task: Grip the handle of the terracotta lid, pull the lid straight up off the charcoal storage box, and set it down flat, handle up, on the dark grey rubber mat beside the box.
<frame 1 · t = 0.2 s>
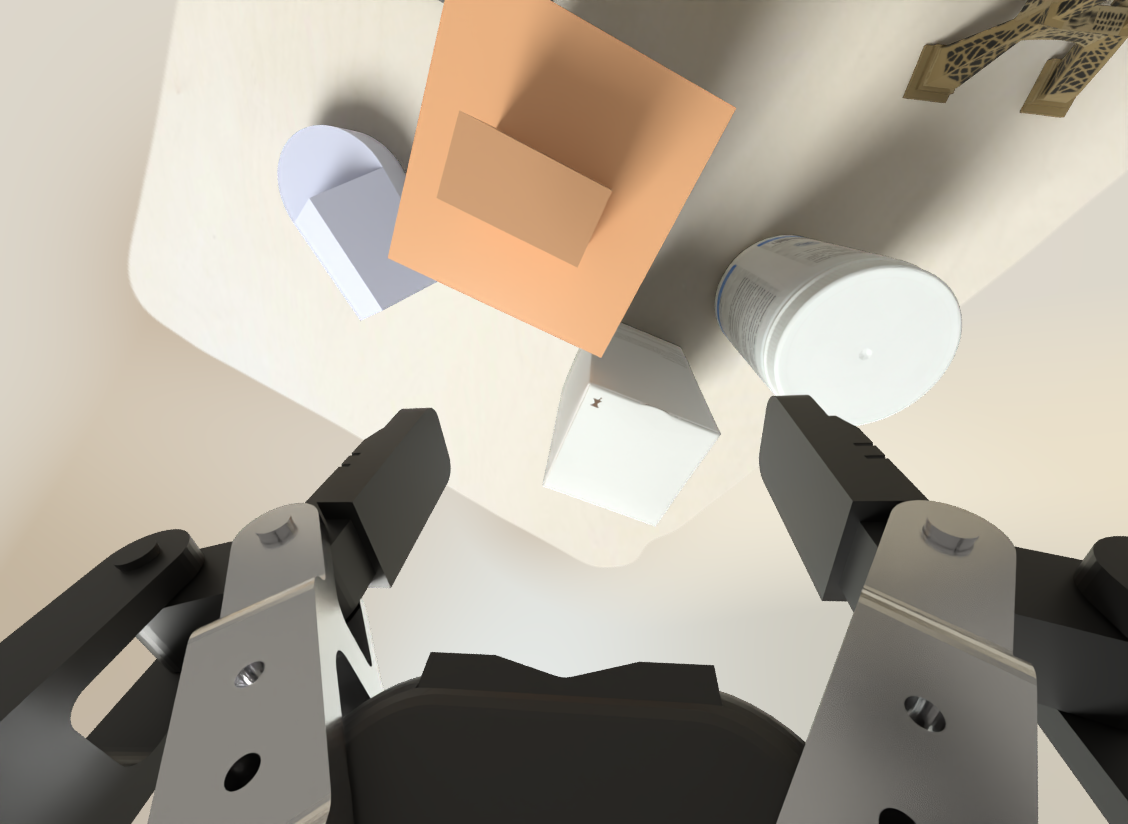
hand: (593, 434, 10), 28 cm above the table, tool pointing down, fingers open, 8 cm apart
wedge on round base: (375, 219, 36), on the table
eiffel tower: (1029, 4, 26), on the table
lid: (548, 190, 23), point 12 cm above the table, touching storage box
supplement tub: (770, 292, 35), on the table
supplement box: (619, 370, 40), on the table
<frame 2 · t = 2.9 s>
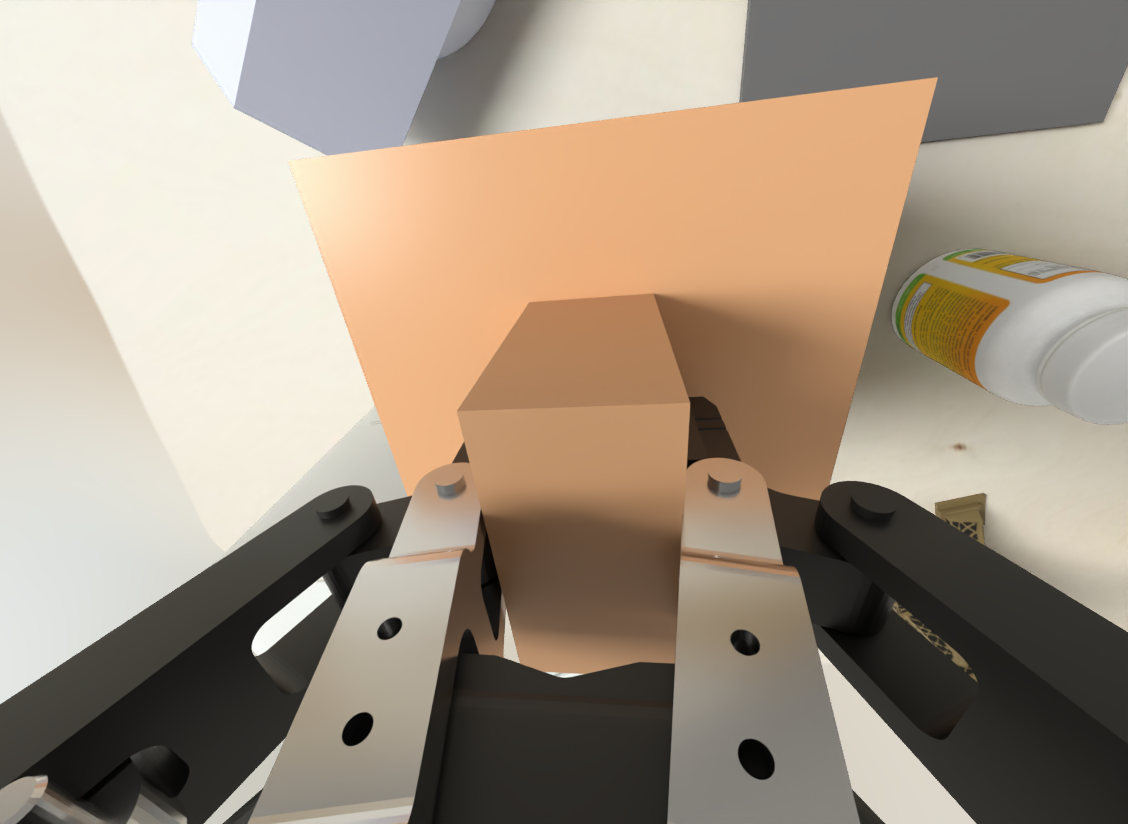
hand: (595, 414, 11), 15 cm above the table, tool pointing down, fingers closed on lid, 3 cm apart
eiffel tower: (895, 558, 32), on the table
lid: (599, 371, 14), point 12 cm above the table, touching gripper
supplement bottle: (942, 299, 23), on the table
supplement box: (450, 449, 31), on the table
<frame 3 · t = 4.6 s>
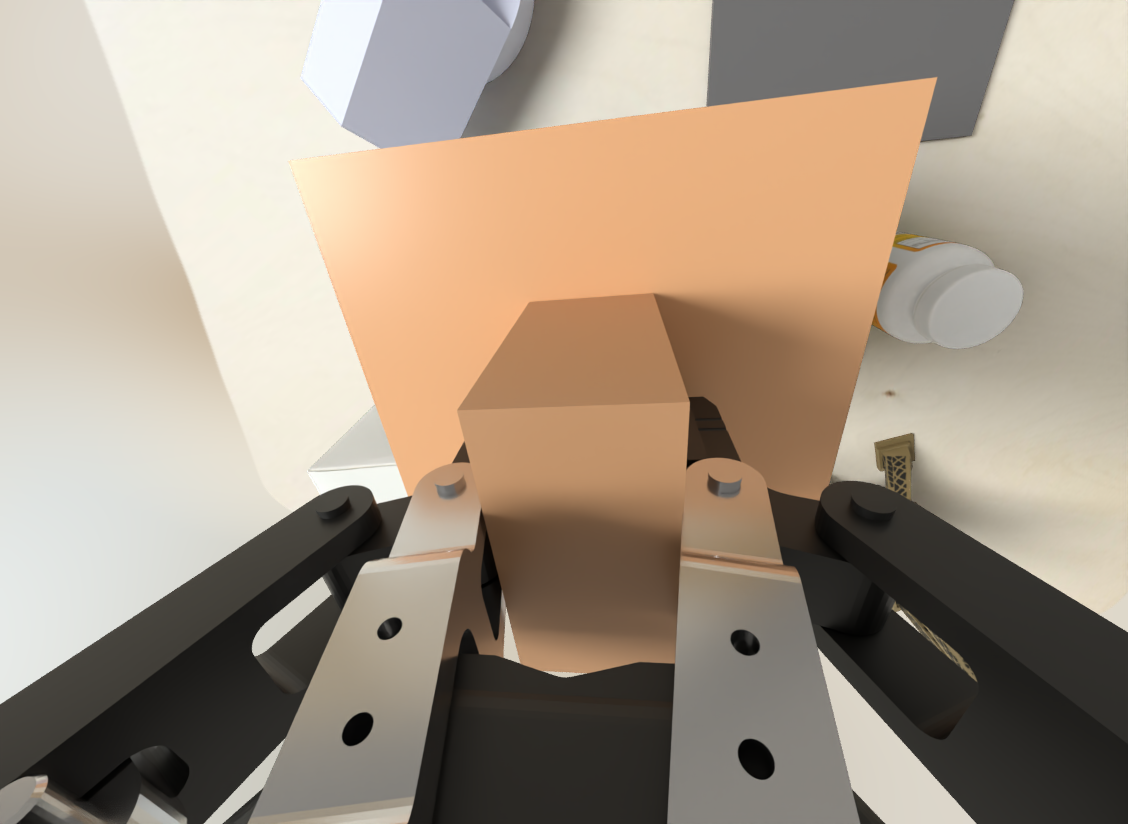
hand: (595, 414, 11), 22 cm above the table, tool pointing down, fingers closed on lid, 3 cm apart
wedge on round base: (442, 28, 25), on the table
eiffel tower: (846, 493, 38), on the table
lid: (599, 371, 14), point 19 cm above the table, touching gripper
supplement bottle: (867, 271, 29), on the table
supplement box: (475, 402, 37), on the table
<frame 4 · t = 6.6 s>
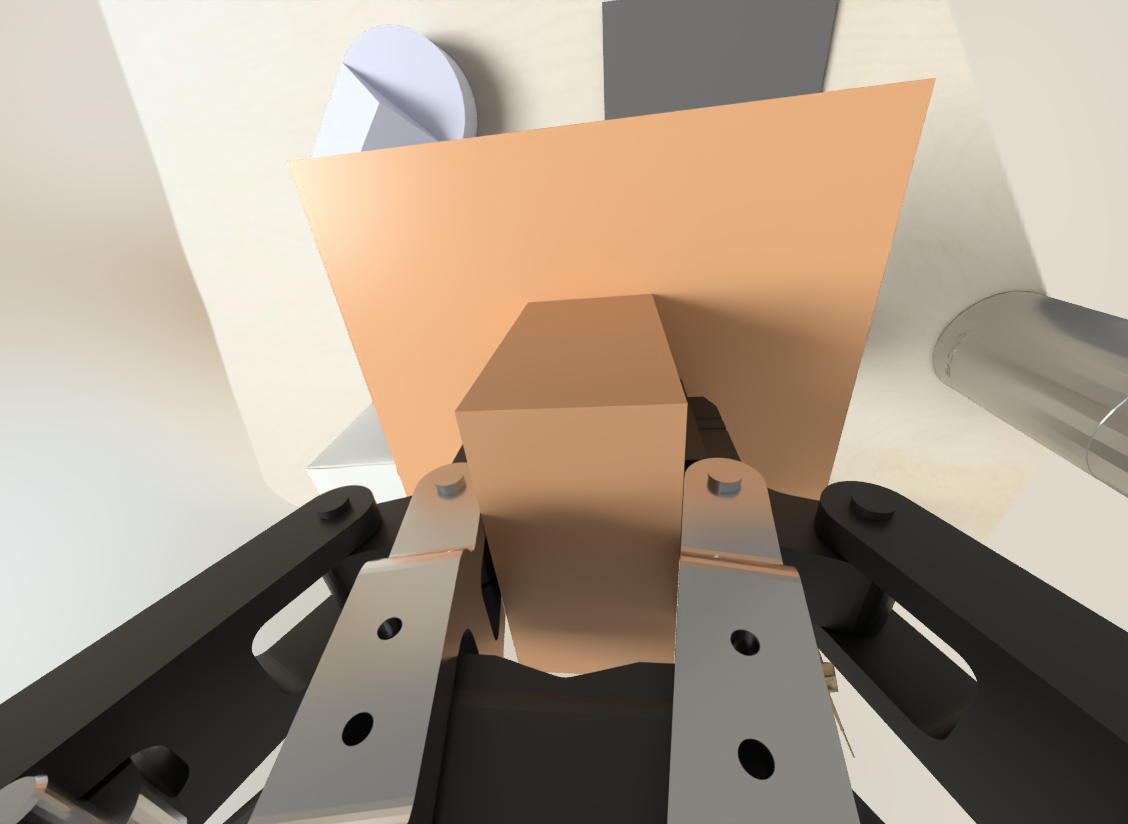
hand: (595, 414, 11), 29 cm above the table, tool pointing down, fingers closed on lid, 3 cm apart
wedge on round base: (410, 140, 33), on the table
rubber mat: (706, 127, 31), on the table
eiffel tower: (740, 490, 48), on the table
lid: (598, 371, 14), point 26 cm above the table, touching gripper
supplement box: (441, 413, 46), on the table
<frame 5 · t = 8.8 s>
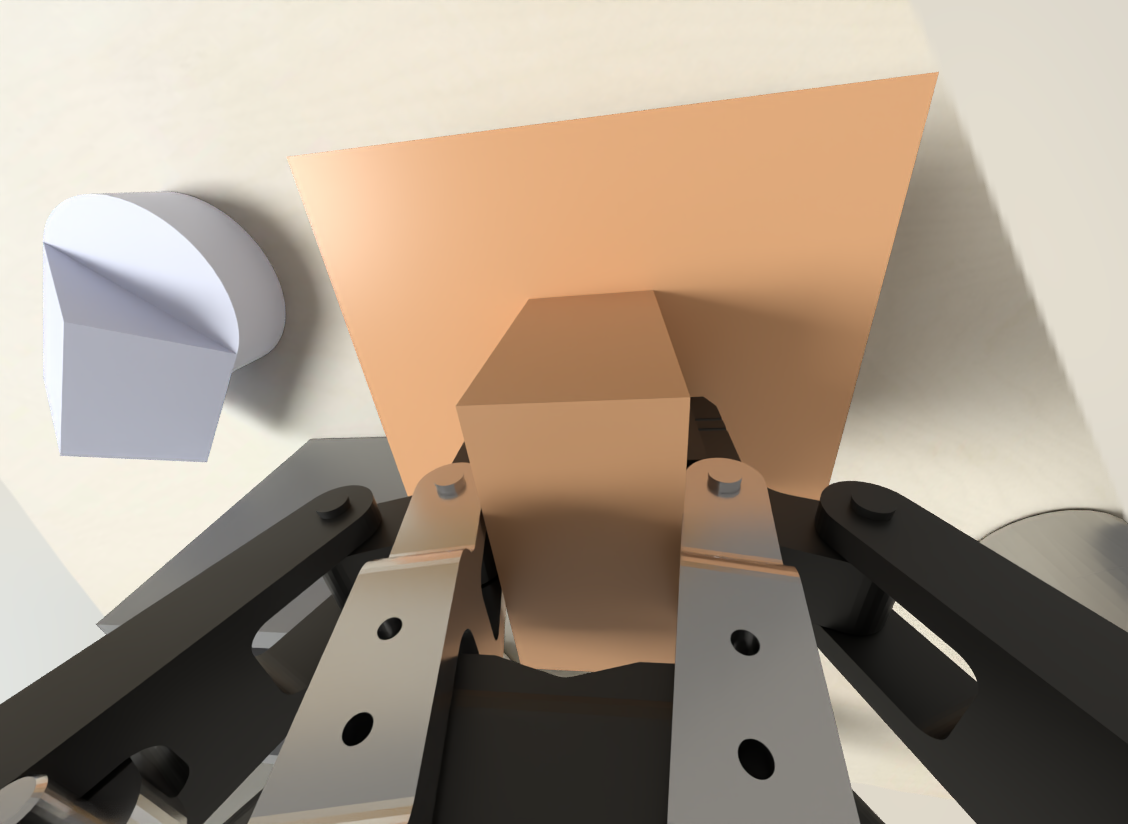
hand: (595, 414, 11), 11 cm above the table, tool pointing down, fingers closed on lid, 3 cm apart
wedge on round base: (201, 312, 24), on the table
storage box: (412, 503, 29), on the table
lid: (599, 369, 14), point 8 cm above the table, touching gripper
supplement box: (318, 599, 36), on the table
when the fingers open (5 cm above the table, at t = 10.6 s): lid drops 1 cm, resting on rubber mat.
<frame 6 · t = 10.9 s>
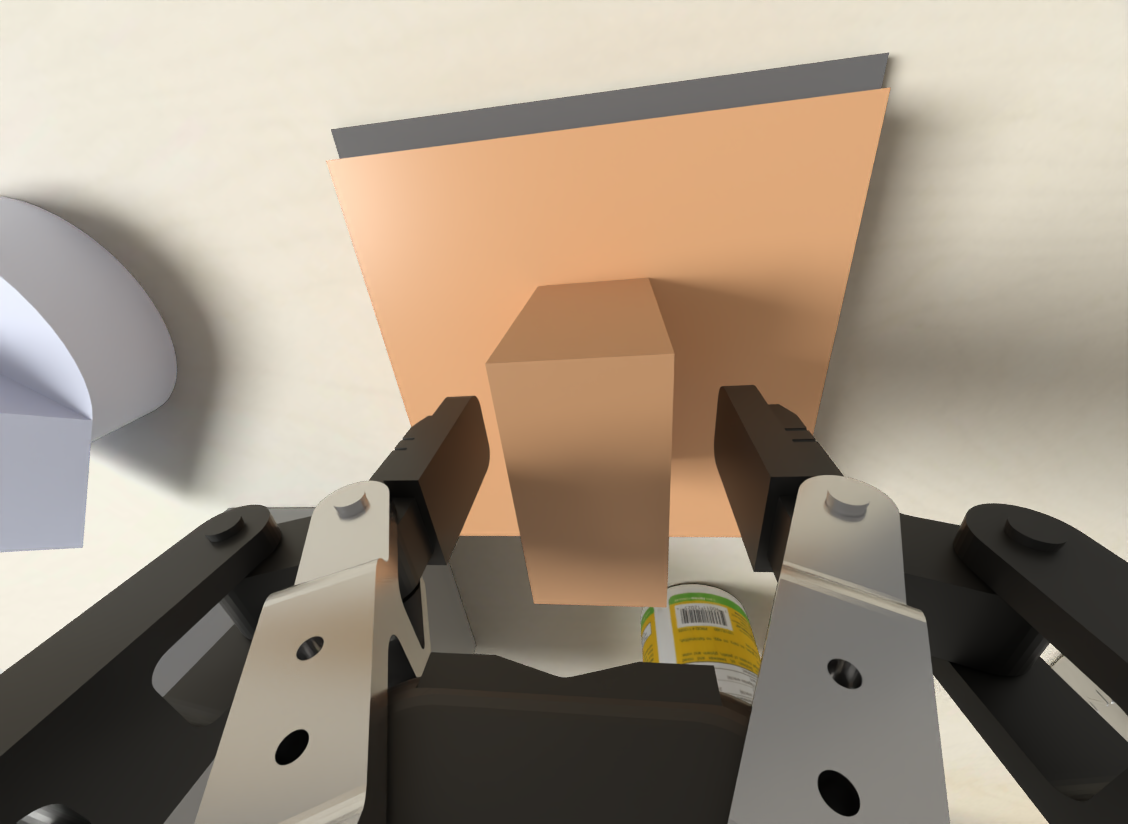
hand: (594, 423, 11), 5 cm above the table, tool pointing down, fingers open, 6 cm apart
wedge on round base: (69, 354, 18), on the table
storage box: (362, 582, 23), on the table
rubber mat: (600, 350, 15), on the table
lid: (600, 353, 15), resting on rubber mat
supplement bottle: (691, 611, 22), on the table
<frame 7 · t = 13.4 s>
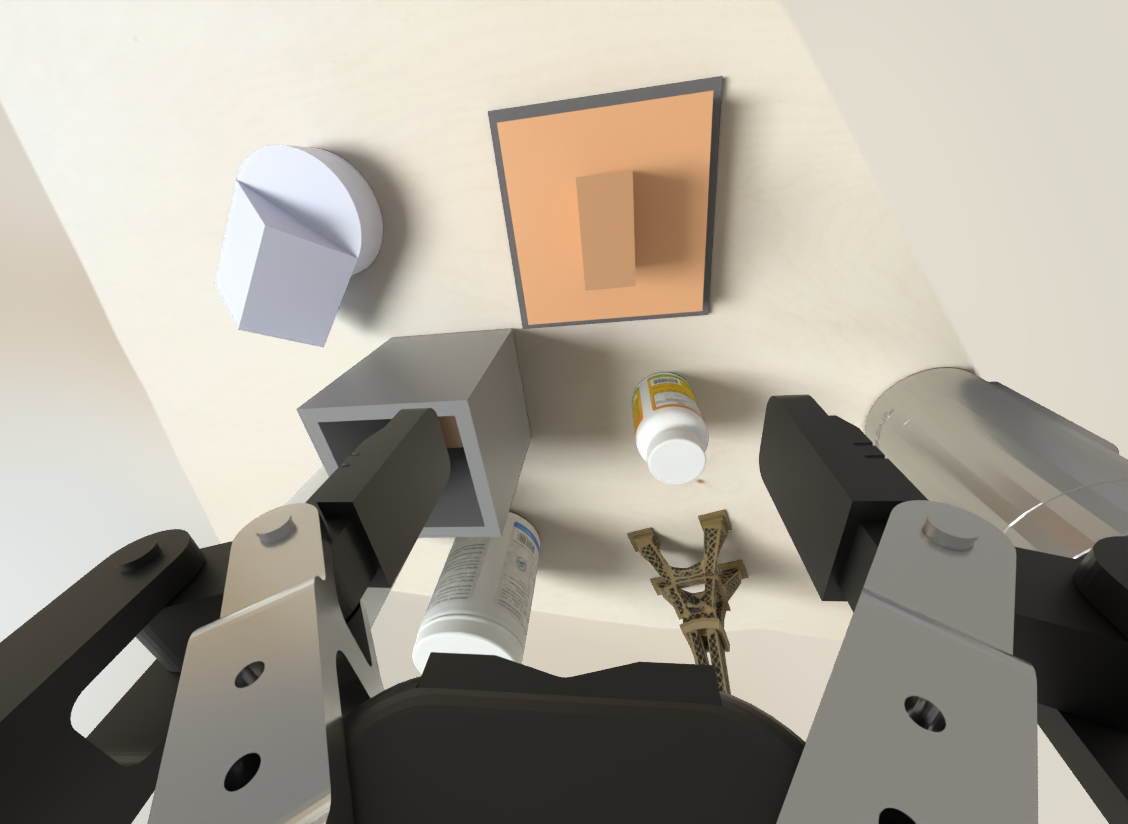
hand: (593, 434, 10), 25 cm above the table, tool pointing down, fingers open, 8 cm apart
wedge on round base: (320, 238, 34), on the table
walnut block: (465, 389, 39), resting in storage box
storage box: (464, 389, 39), on the table
rubber mat: (607, 221, 31), on the table
eiffel tower: (688, 552, 47), on the table
lid: (607, 220, 30), resting on rubber mat
supplement tub: (502, 535, 48), on the table
supplement bottle: (661, 397, 38), on the table
supplement box: (383, 483, 46), on the table
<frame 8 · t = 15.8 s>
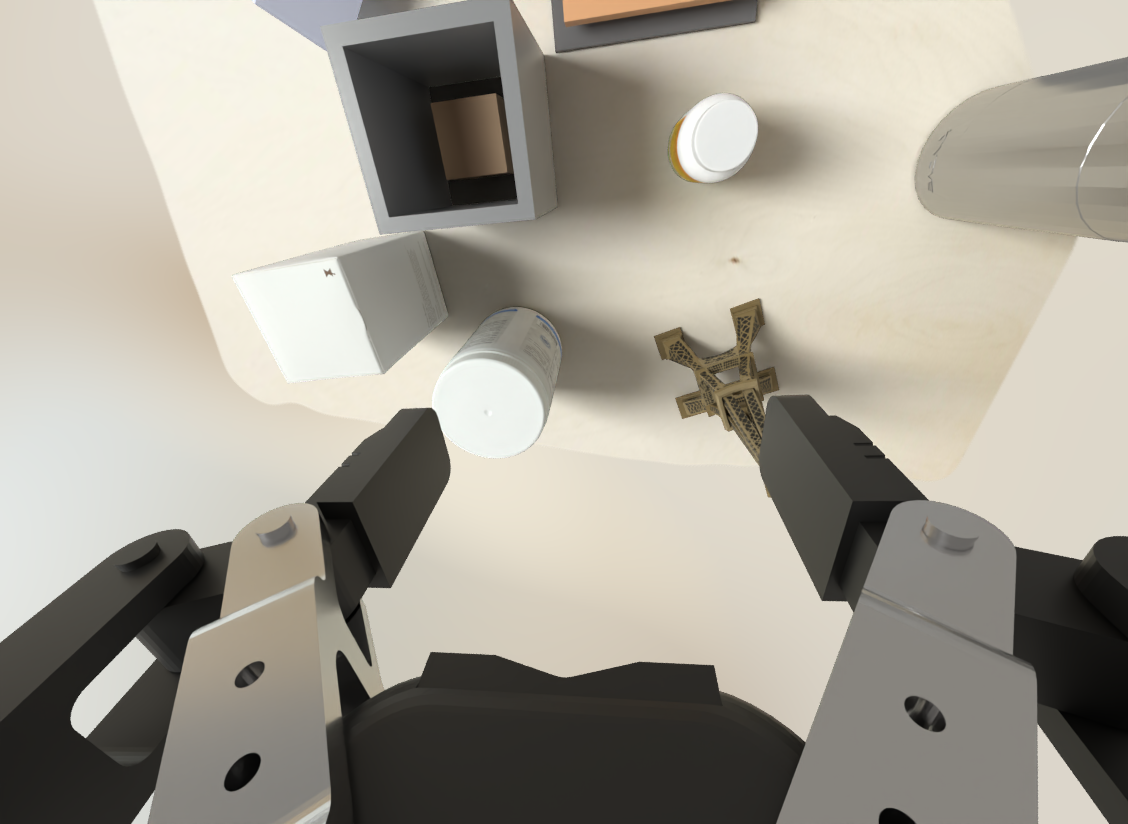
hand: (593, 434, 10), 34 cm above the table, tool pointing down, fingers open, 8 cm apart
walnut block: (490, 143, 37), resting in storage box
storage box: (489, 143, 37), on the table
eiffel tower: (716, 362, 45), on the table
supplement tub: (521, 346, 46), on the table
supplement bottle: (699, 146, 36), on the table
supplement box: (399, 281, 44), on the table
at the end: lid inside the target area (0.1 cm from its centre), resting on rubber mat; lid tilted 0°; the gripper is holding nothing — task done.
